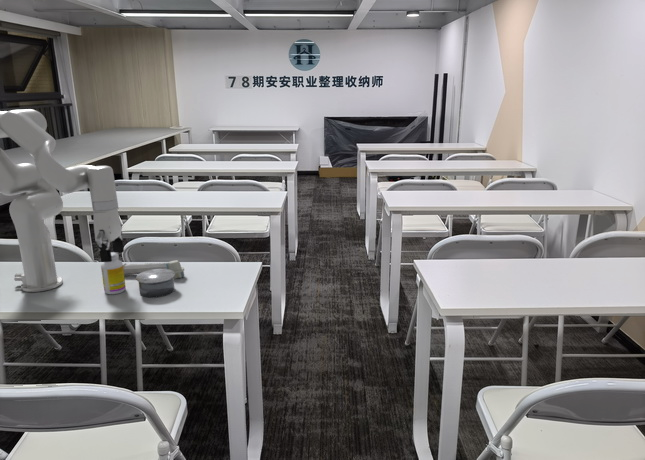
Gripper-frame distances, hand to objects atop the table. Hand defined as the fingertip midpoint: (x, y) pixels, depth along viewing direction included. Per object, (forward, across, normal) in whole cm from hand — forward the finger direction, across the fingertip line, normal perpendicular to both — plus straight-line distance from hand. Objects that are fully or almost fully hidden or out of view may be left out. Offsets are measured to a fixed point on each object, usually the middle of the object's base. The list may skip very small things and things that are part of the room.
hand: (113, 256), depth 166 cm
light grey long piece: (+13, -14, +6) cm, 20 cm away
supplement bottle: (+12, 0, -1) cm, 12 cm away
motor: (+12, 0, +13) cm, 18 cm away
